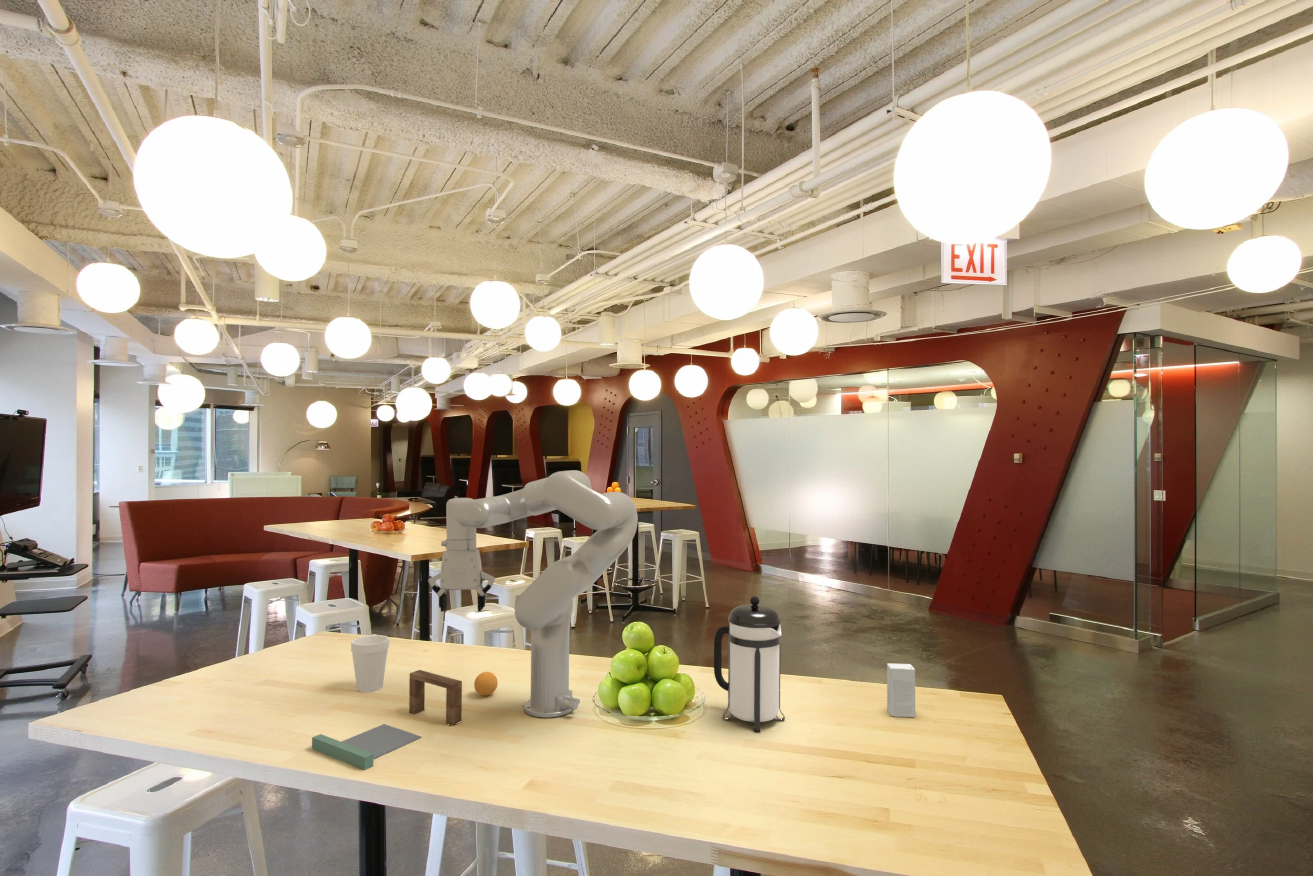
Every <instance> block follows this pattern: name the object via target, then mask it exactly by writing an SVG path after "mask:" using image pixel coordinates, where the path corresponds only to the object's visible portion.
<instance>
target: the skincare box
mask: <svg viewBox="0 0 1313 876" xmlns="http://www.w3.org/2000/svg"><path fill="white" fill-rule="evenodd" d="M886 695H887V696H886V703H887V704H886V705H887V706H886V708H887V709H886V710H887V712H888V714H889V715H891V716H890V717H893V716H895V717H896V718H899V717H900V718H916V669H915V667H914V666H913V665H912V664H911V663H890V662H889V663H886Z"/></svg>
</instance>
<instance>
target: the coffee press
mask: <svg viewBox="0 0 1313 876" xmlns="http://www.w3.org/2000/svg"><path fill="white" fill-rule="evenodd" d="M749 601H750V604H749V603H748V604H741V605H738V606H736V607H734V608H733V609H732V610H731V611H730V613H729V614H728V616H727V617H728V619H727V620H728V623H729V625H724V626H721V627H719V628H718V629H717V630H716V632H715V636H714V640H713V641H714V642H713V673H714V674H713V675H714V678H715V681H716V683H717V684H718V685H719V687H720V688H721V689H723V690H724V691H726V692H727V707H726V709H725V711H724V712H723V713H722V718H723V720H724V719H725V718H728V720H727V721H729V720H730V719H732V717H734V718H736V719H739V720H741V721H744V722H748V723H749V722H750V723H753V732H755V733H756V732H757V733H758V732H761V723H764V722H769V721H771V720H773V719H775V718H776V719H778V721H780V722H784V721H785V719H786V717H785V715H784V713H783V711H782V710H781V637H782V629H781V628H782V627H781V624H782V618H781V617H780V614H779V613H778V611H777V610H776V609H774V608H772V607H770V606H769V605H768V606H767V605H764V604H759V603H760V602H761V601H760V598H759V597H758V596H756V595H755V596H752V597H751V598H750V599H749ZM726 634H728V642H729V643H728V651H727V653H728V656H727V657H728V663H727V664H728V665H727V666H728V670H727V672H728V674H727V677H728V678H727V681H726V680H725V679H724V677H723V674H722V671H723V670H722V662H723V661H722V657H723V655H722V643H723V637H724V636H725V635H726ZM728 712H730V713H731V714H730V715H728V716H727V717H725V716H726V714H727V713H728ZM779 712H780V714H781V715H782V716H783V717H781V718H780V717H779V716H778V714H779ZM781 719H782V720H781Z"/></svg>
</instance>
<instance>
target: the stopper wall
mask: <svg viewBox="0 0 1313 876" xmlns="http://www.w3.org/2000/svg"><path fill="white" fill-rule="evenodd" d="M311 749H312V750H314V751H316V752H319V753H321V754H324V755H326V756H329V757H332V758H334V759H337V760H339V761H342V762H344V763H346V764H349V765H351V766H354V767H356V768H359V769H362V770H364V771H366V770H368V769H370V768H372V767H374V759H373V754H372V753H370V752H367V751H364V750H362V749H359V748H356V747H354V746H351V745H348V744H346V743H343V742H341V740H337V739H335V738H332V737H330V736H328V735H327V736H326V735H325V734H321V733H320V734H316V735H315V736H312V737H311Z"/></svg>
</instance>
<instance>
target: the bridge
mask: <svg viewBox="0 0 1313 876" xmlns="http://www.w3.org/2000/svg"><path fill="white" fill-rule="evenodd" d="M408 683H409V690H408V691H409V692H408V693H409V696H408V703H409V704H408V708H409V709H408V713H409V714H413V715H416V714H419V713H421V712H423V711H425V710H426V709H425V708H426V707H425V702H426V701H425V689H426V688H425V687H426V684H430V685H434V686H437V687H441V688H444V689H446V690H445V693H446V694H445V718H446V719H445V724H446V725H447V724H449V725H448V726H450V725H453V726H455V725H457V724H456V723H458V722H460V721H463V720H462V719H463V718H462V717H463V715H462V714H463V712H462V711H463V709H462V708H463V707H462V706H463V704H462V703H463V681H462V680H459V679H455V678H453V677H448V676H444V675H440V674H437V673H433V672H430V671H429V672H428V671H425V670H423V669H418V670H415V671H411V672H409V682H408ZM425 683H426V684H425ZM460 723H461V722H460ZM454 724H455V725H454ZM458 724H459V723H458Z"/></svg>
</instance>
